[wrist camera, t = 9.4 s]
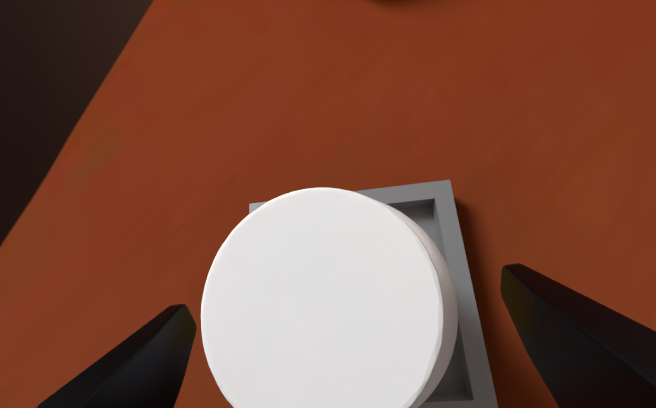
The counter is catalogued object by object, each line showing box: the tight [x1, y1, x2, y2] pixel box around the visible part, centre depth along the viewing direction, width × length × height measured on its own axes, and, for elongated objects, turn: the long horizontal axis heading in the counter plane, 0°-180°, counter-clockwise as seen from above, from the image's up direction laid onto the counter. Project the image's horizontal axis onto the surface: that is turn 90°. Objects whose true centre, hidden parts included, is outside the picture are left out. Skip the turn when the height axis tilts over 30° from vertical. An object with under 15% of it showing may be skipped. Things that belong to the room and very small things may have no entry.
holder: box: [249, 180, 498, 408], centre depth 18 cm, size 12×12×2 cm
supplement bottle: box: [201, 188, 458, 408], centre depth 12 cm, size 7×7×13 cm
